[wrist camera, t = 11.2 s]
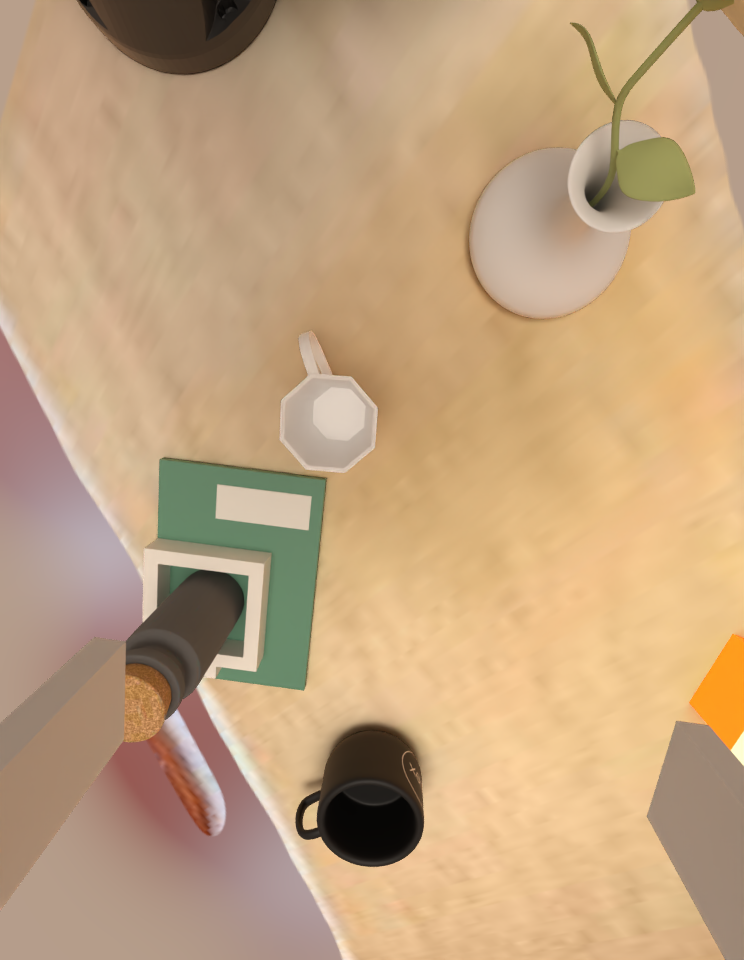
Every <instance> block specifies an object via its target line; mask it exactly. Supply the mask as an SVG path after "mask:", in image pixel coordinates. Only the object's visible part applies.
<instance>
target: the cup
mask: <svg viewBox="0 0 744 960" xmlns="http://www.w3.org/2000/svg"><path fill="white" fill-rule="evenodd" d="M298 339H299V348H300V352H301V355H302V359H303V362H304V365H305V368H306V371H307V374H308V376H307V377H306V378H305V379H304V380H303V381H302V382H301V383H299V384H298V385H297V386H296V387H295V388H294V389H293V390H292V391H291V392H289V393H288V394H287V395H286V396H285V397H284V398H283V399H282V400H281V414H280V441H281V442H282V443H283V444H284V445H285V447H286V448H287V449H288V450H289V451H290V452H291V453H292V454H293V456H294V457H295V458H296V459H297V460H298V461H299V462H300V463H301V465H302V466H303V467H304V468H305V469H306V470H316V471H328V472H339V473H346V472H347V471H348V470H349V469H350V468H352V467H353V466H354V465H355V464H356V463H358V462H359V461H360V460H361V459H362V458H363V457H365V456H366V455H367V454H368V453H369V452H371V451H372V450H373V449H374V448H375V440H376V427H377V415H378V407H377V406H376V405H375V404H374V403H373V401H372V400H371V399H370V398H369V397H368V396H367V394H366V393H365V392H364V391H363V390H362V388H361V387H360V386H359V385H358V384H357V382H356V381H355V380H354V379H353V378H352V377H351V376H338V375H333V374H332V372H331V369H330V367H329V364H328V362H327V360H326V357H325V355H324V353H323V350H322V348H321V346H320V344H319V342H318V340H317V338H316V336H315V334H314V333H313V331H308V332H305V333H302V334H300V335H299V338H298ZM316 362H317V363H316ZM317 364H318V365H317ZM318 366H319V368H318ZM319 369H320V371H321V373H322V374H321V373H320V371H319Z"/></svg>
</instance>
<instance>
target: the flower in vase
mask: <svg viewBox="0 0 744 960" xmlns="http://www.w3.org/2000/svg"><path fill="white" fill-rule="evenodd" d="M696 1H697V4H696V5H695V6H694V7H693V8H692V9H691V10H690V11H689V12H688V13H687V14H686V16H685V17H684V18H683V19H682V20H681V21H680V22H679V23H678V24H677V26H676V27H675V28H674V29H673V30H672V31H671V32H670V33H669V35H668V36H667V37H666V38H665V39H664V40H663V41H662V42H661V44H660V45H659V46H658V47H657V48H656V49H655V50H654V52H653V53H652V54H651V55H650V56H649V57H648V58H647V59H646V61H645V62H644V63H643V64H642V65H641V66H640V67H639V69H638V70H637V71H636V72H635V73H634V74H633V75H632V77H631V78H630V79H629V80H628V82H627V83H626V84H625V85H624V87H623V88H622V90H621V92H620V93H619V95H618V97H617V100H615V97H614V95H613V93H612V91H611V89H610V87H609V85H608V82H607V80H606V78H605V75H604V73H603V70H602V67H601V64H600V62H599V58H598V55H597V52H596V49H595V46H594V43H593V41H592V38H591V36H590V34H589V33H588V31H587V30H586V29H585V28H584V27H583V26H582V25H580V24H577V23H570V24H571V25H572V26H574V27H575V28H576V29H577V30H578V31H579V32H580V34H581V35H582V36H583V38H584V40H585V41H586V44H587V47H588V50H589V53H590V57H591V61H592V65H593V69H594V72H595V75H596V78H597V80H598V82H599V84H600V86H601V88H602V89H603V91H604V92H605V93H606V95H607V96H608V97H609V98H610V100H611V101H612V102H613V103H614V104H615V105H614V111H613V117H612V122H611V123H608V124H605V125H603V126H601V127H599V128H598V129H596V130H595V131H593V132H592V133H591V134H590V135H589V136H588V137H587V138H586V139H585V140H584V141H583V142H582V143H581V145H580V146H579V148H578V149H577V150H575V149H571V148H559V147H557V148H545V149H540V150H535V151H533V152H530V153H527V154H524V155H522V156H520V157H518V158H517V159H515V160H513V161H512V162H510V163H509V164H507V165H506V166H505V167H504V168H503V169H501V170H500V171H499V172H498V173H497V174H496V175H495V176H494V177H493V179H492V180H491V181H490V182H489V183H488V185H487V186H486V188H485V189H484V191H483V192H482V194H481V196H480V198H479V200H478V202H477V205H476V207H475V210H474V212H473V216H472V220H471V225H470V233H469V248H470V256H471V260H472V264H473V268H474V270H475V273H476V276H477V278H478V279H479V281H480V283H481V285H482V286H483V288H484V289H485V290H486V292H487V293H488V294H489V295H490V296H491V297H492V298H493V299H494V300H495V301H496V302H497V303H498V304H500V305H501V306H502V307H504V308H506V309H507V310H509V311H511V312H513V313H516V314H518V315H521V316H525V317H529V318H537V319H550V318H556V317H562V316H565V315H568V314H571V313H573V312H576V311H578V310H580V309H582V308H583V307H585V306H587V305H588V304H590V303H591V302H592V301H594V300H595V299H596V298H598V297H599V296H600V295H601V294H602V293H603V292H604V291H605V290H606V289H607V287H608V286H609V285H610V284H611V282H612V281H613V280H614V278H615V276H616V275H617V273H618V271H619V270H620V267H621V265H622V263H623V261H624V258H625V255H626V252H627V249H628V244H629V239H630V232H631V230H632V229H634V228H637V227H639V226H640V225H642V224H644V223H645V222H646V221H648V220H649V219H650V218H651V217H652V216H653V215H654V214H655V213H656V212H657V211H658V209H659V208H660V207H661V205H662V204H663V202H664V201H670V200H676V199H680V198H684V197H687V196H690V195H693V194H694V193H695V185H694V180H693V176H692V173H691V170H690V167H689V164H688V162H687V159H686V157H685V155H684V153H683V151H682V150H681V148H680V147H679V145H678V144H677V143H676V142H675V141H673V140H671V139H670V138H665V137H661V136H660V135H659V134H658V133H657V132H656V131H655V130H654V129H653V128H651V127H649V126H648V125H646V124H644V123H641V122H637V121H633V120H620V117H621V111H622V107H623V104H624V101H625V98H626V97H627V95H628V93H629V92H630V90H631V89H632V88H633V86H634V85H635V84H636V83H637V82H638V80H639V79H640V78H641V77H642V76H643V75H644V74H645V73H646V71H647V70H648V69H649V68H650V67H651V66H652V65H653V64H654V63H655V61H656V60H657V59H658V58H659V57H660V56H661V55H662V54H663V53H664V51H665V50H666V49H667V48H668V47H669V46H670V45H671V44H672V43H673V41H674V40H675V39H676V38H677V37H678V36H679V35H680V34H681V33H682V32H683V30H684V29H685V28H686V27H687V26H688V25H689V24H690V23H691V22H692V21H693V20H694V18H695V17H696V16H697V15H698V14H699V13H700V12H701V11H702V10H704V11H716V10H720V9H721V10H722V11H723V12H724V14H725V15H726V16H727V17H728V18H729V20H730V21H731V22H732V24H733V25H734V26H735V27H736V28H737V30H738V31H739V32H740V33H741V34H742V35H743V36H744V0H696Z"/></svg>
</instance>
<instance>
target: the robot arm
mask: <svg viewBox="0 0 744 960" xmlns="http://www.w3.org/2000/svg"><path fill="white" fill-rule="evenodd" d="M275 1H276V0H77V2H78V3H79V5H80V6H81V8H82V9H83V10H84V12H85V13H86V14H87V16H88V17H89V18H90V19H91V20H92V21H93V22H94V24H95V25H96V26H97V27H98V28H99V29H100V30H101V31H102V33H103V34H104V35H105V36H106V37H107V38H108V39H109V40H110V41H111V42H112V43H113V44H114V45H115V46H116V47H117V48H118V49H119V50H121V51H122V52H123V53H124V54H126V55H127V56H129V57H130V58H132V59H133V60H135V61H137V62H139V63H141V64H142V65H145V66H147V67H149V68H152V69H155V70H159V71H163V72H168V73H176V74H190V73H198V72H203V71H206V70H210V69H213V68H215V67H218V66H220V65H222V64H224V63H226V62H227V61H229V60H231V59H232V58H234V57H235V56H237V55H238V54H239V53H240V52H242V51H243V50H244V49H245V48H246V47H247V46H248V45H249V44H250V43H251V42H252V41H253V40H254V38H255V37H256V36H257V35H258V33H259V32H260V30H261V29H262V27H263V26H264V24H265V23H266V21H267V19H268V17H269V15H270V13H271V11H272V9H273V7H274V4H275ZM125 663H126V642H125V641H118V640H111V639H104V638H97V637H94V638H93V639H92V640H91V641H90V642H89V643H87V644H86V645H85V646H84V647H83V648H82V649H81V650H80V651H79V652H78V653H76V654H75V655H74V656H73V657H72V658H71V659H70V660H69V661H68V662H67V663H66V664H64V665H63V666H62V667H61V668H60V669H59V670H58V671H57V672H56V673H55V674H53V675H52V676H51V677H50V678H49V679H48V680H47V681H46V682H45V683H44V684H43V685H41V686H40V688H38V689H37V690H36V691H35V692H34V693H33V694H32V695H31V696H29V697H28V698H27V699H26V700H25V701H24V702H23V703H22V704H21V705H20V706H18V707H17V708H16V709H15V710H14V711H13V712H12V713H11V714H10V715H9V716H8V717H6V718H5V719H4V720H3V721H2V722H1V723H0V911H1V910H2V908H3V907H4V905H5V904H6V903H7V901H8V900H9V898H10V897H11V896H12V894H13V893H14V891H15V890H16V889H17V887H18V886H19V884H20V883H21V882H22V880H23V879H24V877H25V876H26V875H27V873H28V872H29V871H30V869H31V868H32V867H33V865H34V864H35V862H36V861H37V860H38V858H39V857H40V855H41V854H42V853H43V851H44V850H45V848H46V847H47V846H48V844H49V843H50V841H51V840H52V839H53V837H54V836H55V834H56V833H57V832H58V830H59V829H60V827H61V826H62V825H63V823H64V822H65V821H66V819H67V818H68V817H69V815H70V813H71V812H72V811H73V809H74V808H75V807H76V805H77V804H78V803H79V801H80V800H81V798H82V797H83V796H84V794H85V793H86V792H87V790H88V789H89V787H90V786H91V785H92V783H93V782H94V781H95V779H96V778H97V776H98V775H99V773H100V772H101V771H102V769H103V768H104V766H105V765H106V764H107V762H108V761H109V760H110V758H111V757H112V756H113V754H114V753H115V751H116V750H117V749H118V747H119V746H120V744H121V743H122V742H123V740H124V712H125ZM647 818H648V820H649V821H650V823H651V825H652V827H653V829H654V831H655V832H656V834H657V836H658V838H659V840H660V841H661V843H662V845H663V847H664V849H665V851H666V852H667V854H668V856H669V858H670V860H671V862H672V863H673V865H674V867H675V869H676V871H677V873H678V874H679V876H680V878H681V880H682V882H683V884H684V885H685V887H686V889H687V891H688V893H689V894H690V896H691V898H692V900H693V902H694V904H695V905H696V907H697V909H698V911H699V913H700V915H701V916H702V918H703V920H704V922H705V924H706V926H707V927H708V929H709V931H710V933H711V935H712V937H713V938H714V940H715V942H716V944H717V946H718V947H719V949H720V951H721V953H722V955H723V957H724V958H725V960H744V766H743V764H742V763H741V762H740V761H739V760H738V759H737V757H736V756H735V755H734V754H733V753H732V752H731V750H730V749H729V748H728V747H727V746H726V745H725V743H724V742H723V741H722V740H721V739H720V738H719V736H718V735H717V734H716V733H715V732H714V730H713V729H712V728H711V727H710V726H709V725H702V724H695V723H688V722H681V721H676V724H675V727H674V730H673V734H672V737H671V740H670V743H669V747H668V750H667V753H666V756H665V760H664V763H663V766H662V769H661V772H660V776H659V779H658V782H657V785H656V789H655V792H654V795H653V798H652V802H651V805H650V808H649V811H648V815H647Z"/></svg>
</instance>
